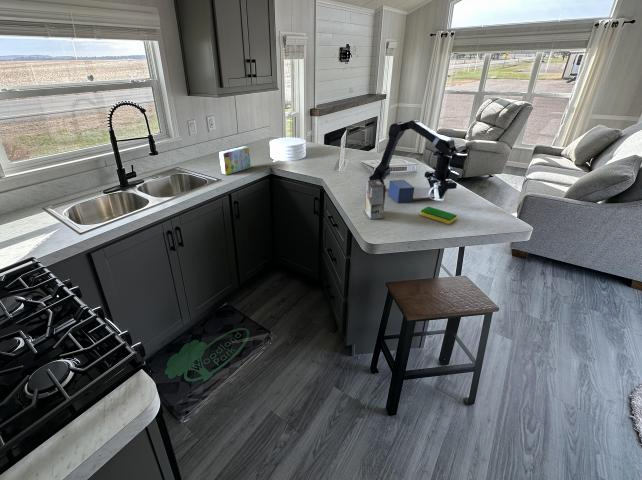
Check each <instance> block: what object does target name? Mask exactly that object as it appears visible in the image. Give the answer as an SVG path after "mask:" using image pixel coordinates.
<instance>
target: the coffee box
mask: <svg viewBox="0 0 642 480" xmlns="http://www.w3.org/2000/svg"><path fill="white" fill-rule="evenodd" d="M386 190H387V185H385V183H384V184H383V183H382V182H381V181H380V180H371V181H370V180H366V190H365V191H366V192H365V207H364V212H365V213H366V215H367V216H368V218H369V219H370V220H376V219H378V220H379V219H383V218H384V211H385V199H386Z"/></svg>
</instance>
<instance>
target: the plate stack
mask: <svg viewBox="0 0 642 480" xmlns="http://www.w3.org/2000/svg"><path fill="white" fill-rule="evenodd" d="M306 143H307V141H306V139H304V138H301V137H292V136H291V137H288V136H287V137H278V138H274V139H271V140H270V141H269V154H270V155H269V156H270V159H273V160H275V161H281V162H289V161H290V162H291V161H299V160H302V159H304V158H306V156H307V150H306V149H307V144H306Z"/></svg>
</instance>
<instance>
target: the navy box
mask: <svg viewBox="0 0 642 480" xmlns="http://www.w3.org/2000/svg"><path fill="white" fill-rule="evenodd" d="M430 189H431V187H430V186H429V187H420V188H415V187H414V186H413V185H412V184H410V183H409V182H408V181H406V180H405V179H396V180H395V179H394V180H389V185H388V195H389V197H391V198H392V200H394V201H395V202H396V203H397V204H401V203H413V201H424V200H433V199H434V198H435V196H434V194H433V193H432V191H431V193H430V197H431V198H432V199H431V198H430V197H429V191H430Z"/></svg>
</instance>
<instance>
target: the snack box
mask: <svg viewBox="0 0 642 480" xmlns="http://www.w3.org/2000/svg"><path fill="white" fill-rule="evenodd" d="M218 156H219V163H220V169H221V170H220V171H221V174H222V175H225V176H227V175H230V174H233V173H236V172H237V173H238V172H240V171H244V170H247V169H251V168H252V167H251V156H250V147H249V146H246V145H244V146H243V145H242V146H240V147H235V148H231V149H227V150H223V151H219V152H218Z"/></svg>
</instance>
